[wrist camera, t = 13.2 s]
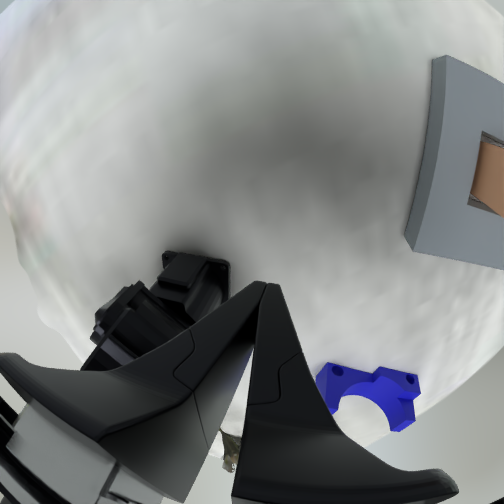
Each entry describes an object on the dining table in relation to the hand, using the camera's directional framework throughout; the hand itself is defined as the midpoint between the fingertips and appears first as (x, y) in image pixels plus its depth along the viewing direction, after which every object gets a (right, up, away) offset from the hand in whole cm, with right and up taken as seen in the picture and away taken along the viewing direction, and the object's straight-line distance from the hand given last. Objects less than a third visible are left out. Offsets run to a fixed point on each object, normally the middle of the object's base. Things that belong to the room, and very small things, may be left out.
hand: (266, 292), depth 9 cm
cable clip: (+13, -13, +19) cm, 26 cm away
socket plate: (+18, +8, +5) cm, 20 cm away
